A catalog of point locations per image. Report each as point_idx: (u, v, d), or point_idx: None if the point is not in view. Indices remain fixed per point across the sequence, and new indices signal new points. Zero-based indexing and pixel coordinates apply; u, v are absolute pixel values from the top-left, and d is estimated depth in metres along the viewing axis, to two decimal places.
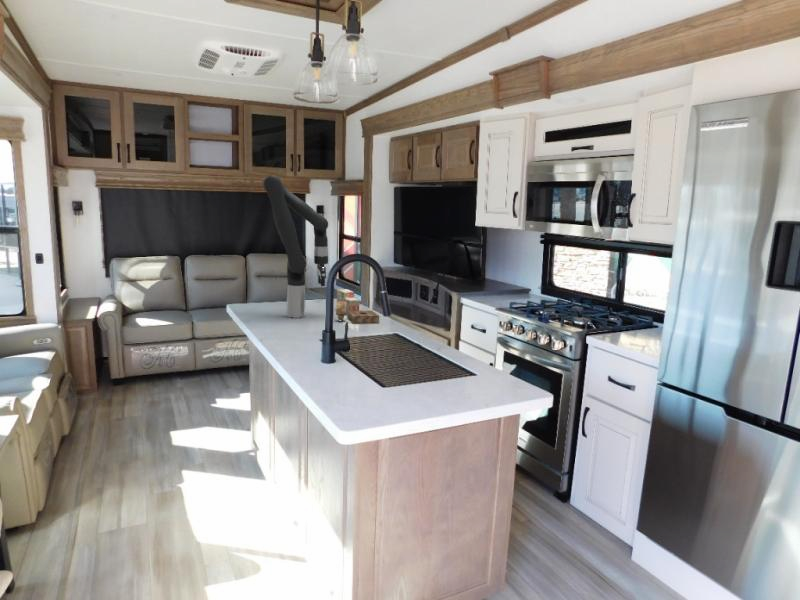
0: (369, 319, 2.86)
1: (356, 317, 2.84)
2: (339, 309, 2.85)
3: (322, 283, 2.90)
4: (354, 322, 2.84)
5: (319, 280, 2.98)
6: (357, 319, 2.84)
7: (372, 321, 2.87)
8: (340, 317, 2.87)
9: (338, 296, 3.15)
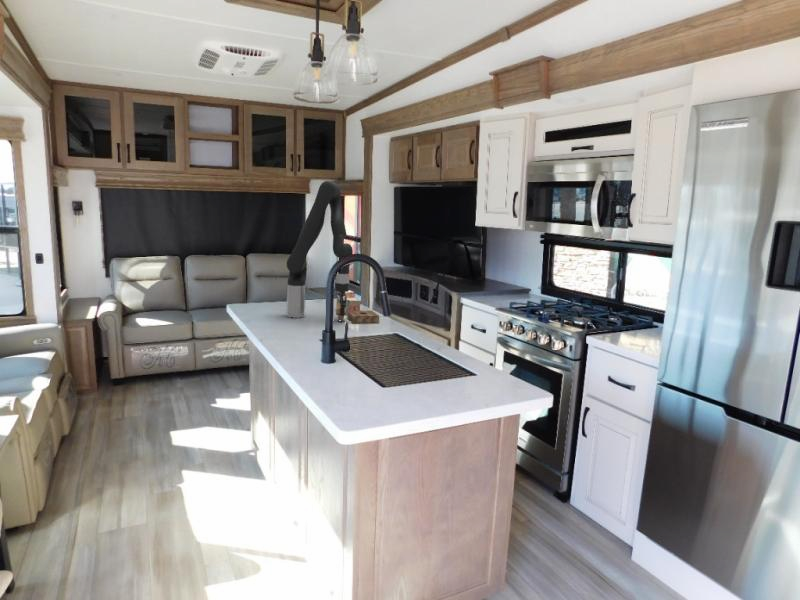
0: (369, 319, 2.86)
1: (356, 317, 2.84)
2: (339, 308, 2.85)
3: (342, 312, 2.84)
4: (354, 322, 2.84)
5: None
6: (357, 319, 2.84)
7: (372, 321, 2.87)
8: (340, 317, 2.87)
9: None
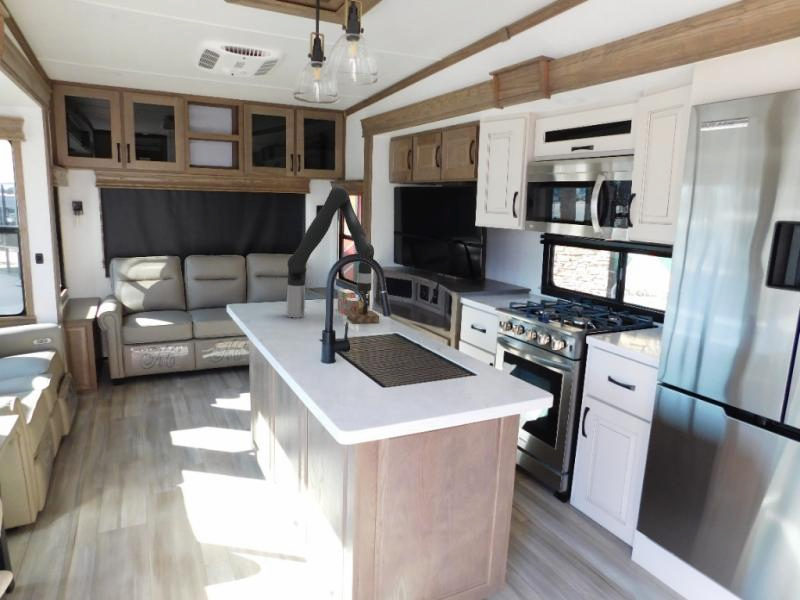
0: (369, 319, 2.86)
1: (356, 317, 2.84)
2: (362, 307, 2.89)
3: (365, 310, 2.86)
4: (354, 322, 2.84)
5: None
6: (357, 319, 2.84)
7: (372, 321, 2.87)
8: None
9: (339, 296, 3.14)
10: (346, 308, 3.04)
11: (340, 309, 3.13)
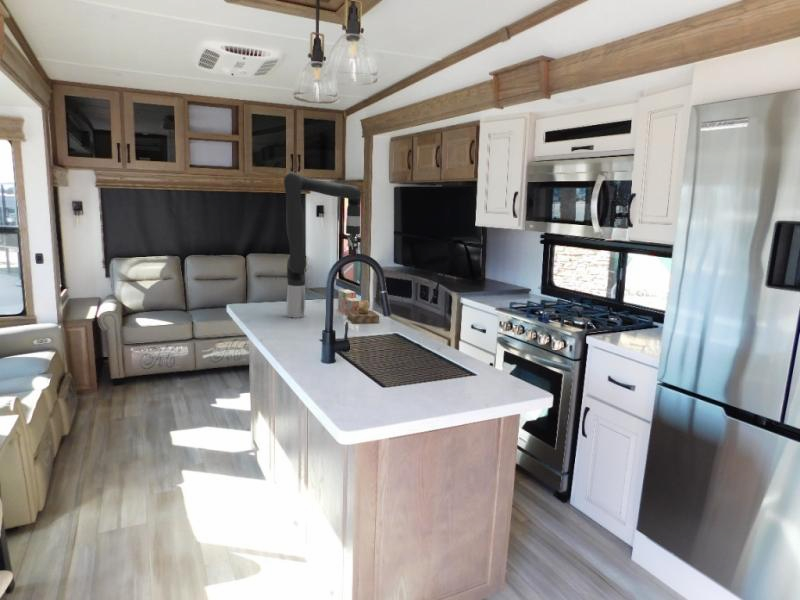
0: (369, 319, 2.86)
1: (356, 317, 2.84)
2: (362, 307, 2.89)
3: (353, 253, 2.84)
4: (354, 322, 2.84)
5: (349, 251, 2.92)
6: (357, 319, 2.84)
7: (372, 321, 2.87)
8: None
9: (340, 296, 3.14)
10: (346, 308, 3.04)
11: (340, 309, 3.13)
